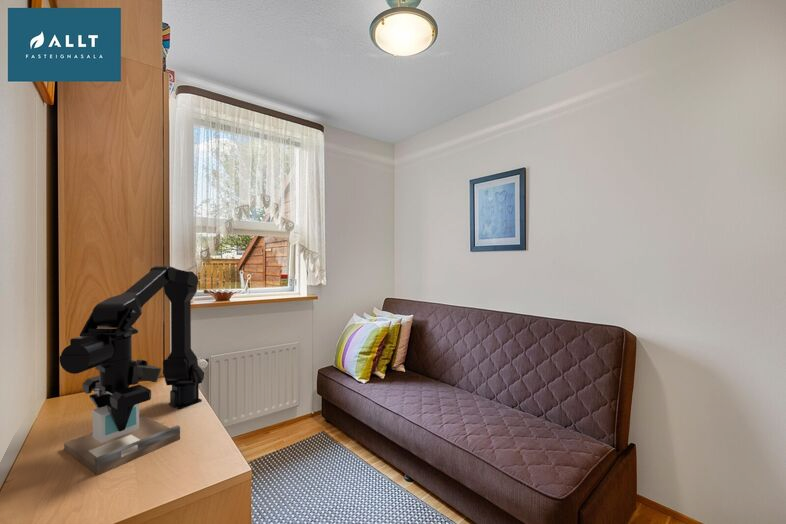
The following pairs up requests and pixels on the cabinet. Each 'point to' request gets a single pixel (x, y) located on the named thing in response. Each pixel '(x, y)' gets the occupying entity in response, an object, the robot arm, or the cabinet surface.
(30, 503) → the cabinet surface
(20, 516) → the cabinet surface
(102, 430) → the carton
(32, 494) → the cabinet surface
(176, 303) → the robot arm
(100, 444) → the shelf board
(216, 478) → the cabinet surface
